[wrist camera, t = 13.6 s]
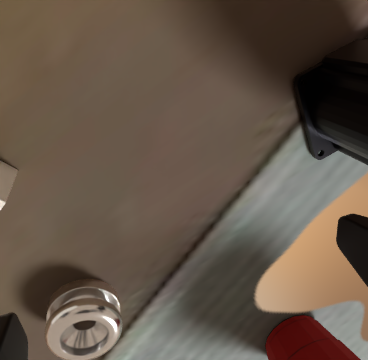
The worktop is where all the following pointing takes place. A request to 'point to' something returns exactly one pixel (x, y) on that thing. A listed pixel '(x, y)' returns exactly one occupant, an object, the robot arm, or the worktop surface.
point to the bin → (6, 181)
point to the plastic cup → (305, 342)
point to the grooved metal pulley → (83, 320)
